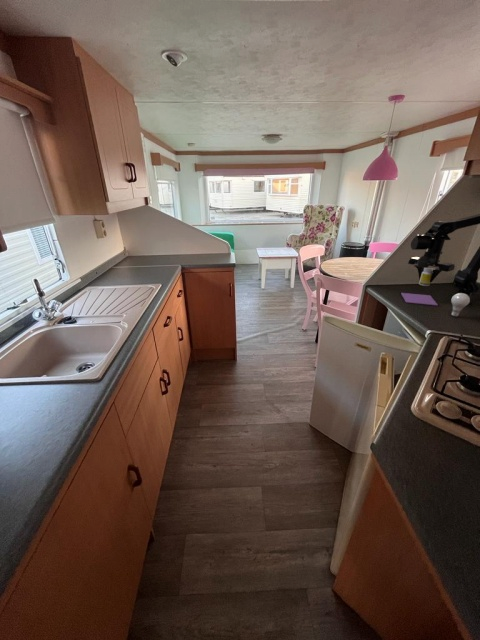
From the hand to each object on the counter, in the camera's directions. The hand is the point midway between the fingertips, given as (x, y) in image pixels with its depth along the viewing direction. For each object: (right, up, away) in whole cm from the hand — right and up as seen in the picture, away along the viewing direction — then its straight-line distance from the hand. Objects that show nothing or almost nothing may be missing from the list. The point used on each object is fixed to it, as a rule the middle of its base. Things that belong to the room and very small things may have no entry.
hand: (425, 280), depth 133 cm
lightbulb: (+4, -18, -13) cm, 23 cm away
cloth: (+1, -9, +6) cm, 11 cm away
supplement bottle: (0, -2, +1) cm, 2 cm away
